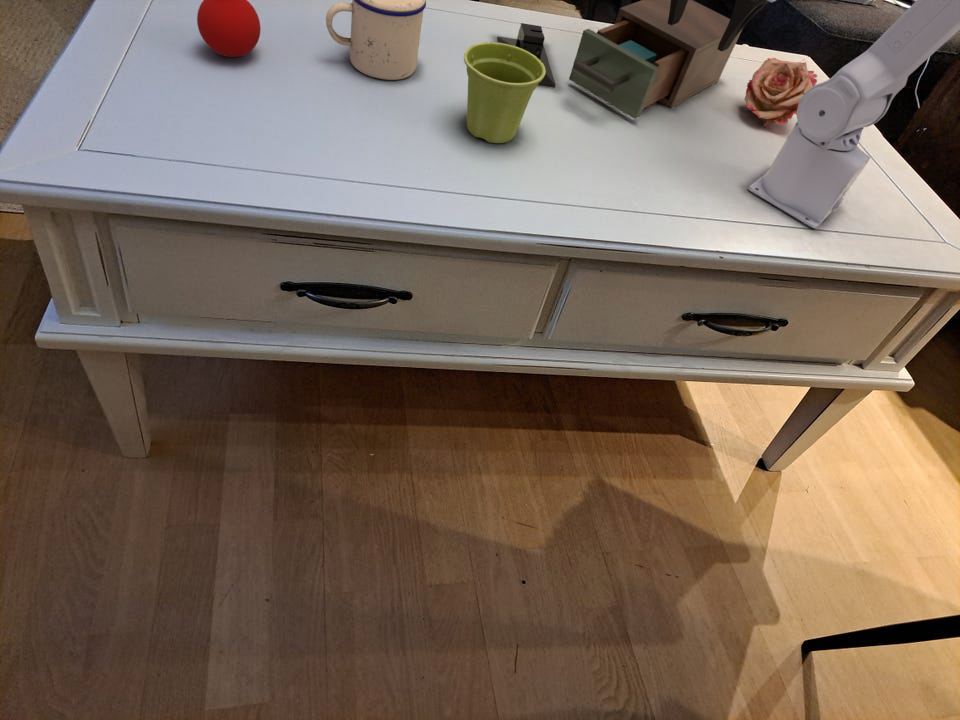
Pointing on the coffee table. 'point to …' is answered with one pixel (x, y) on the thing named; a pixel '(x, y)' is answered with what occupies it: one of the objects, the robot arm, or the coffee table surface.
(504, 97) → the plant pot
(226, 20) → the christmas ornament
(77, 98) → the coffee table surface
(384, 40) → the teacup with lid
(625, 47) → the block
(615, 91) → the drawer
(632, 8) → the cabinet
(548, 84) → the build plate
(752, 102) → the flower
